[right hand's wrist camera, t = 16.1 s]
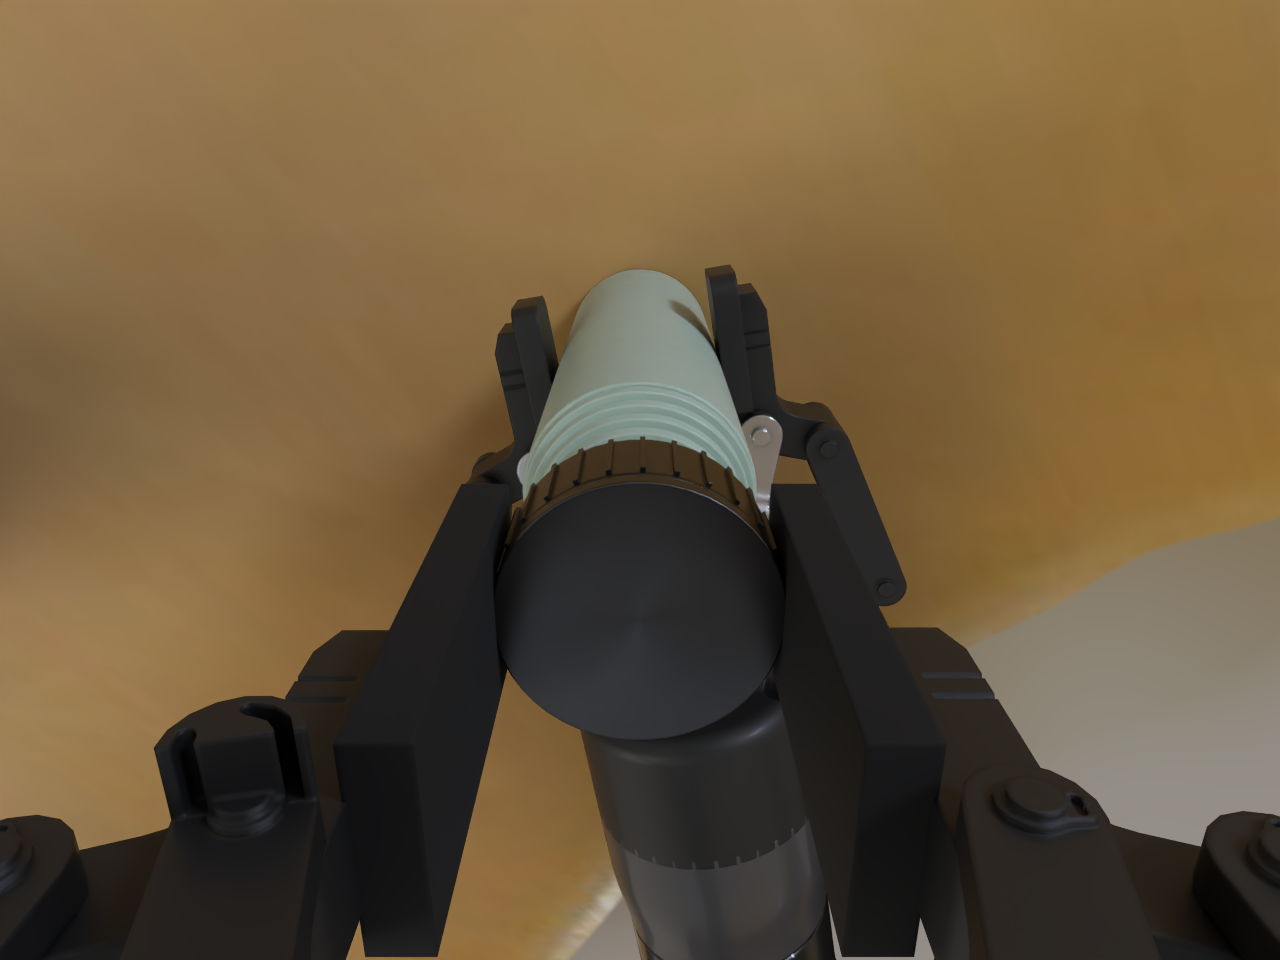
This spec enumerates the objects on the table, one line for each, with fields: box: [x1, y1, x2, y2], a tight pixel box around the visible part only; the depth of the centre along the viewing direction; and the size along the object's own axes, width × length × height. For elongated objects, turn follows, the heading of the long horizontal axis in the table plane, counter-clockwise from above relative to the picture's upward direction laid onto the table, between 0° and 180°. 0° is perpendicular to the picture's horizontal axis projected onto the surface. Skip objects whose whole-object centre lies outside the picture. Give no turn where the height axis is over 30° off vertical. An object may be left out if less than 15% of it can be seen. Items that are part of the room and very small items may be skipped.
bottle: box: [523, 269, 757, 502], centre depth 22 cm, size 5×5×18 cm
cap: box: [494, 436, 786, 740], centre depth 14 cm, size 4×4×2 cm
